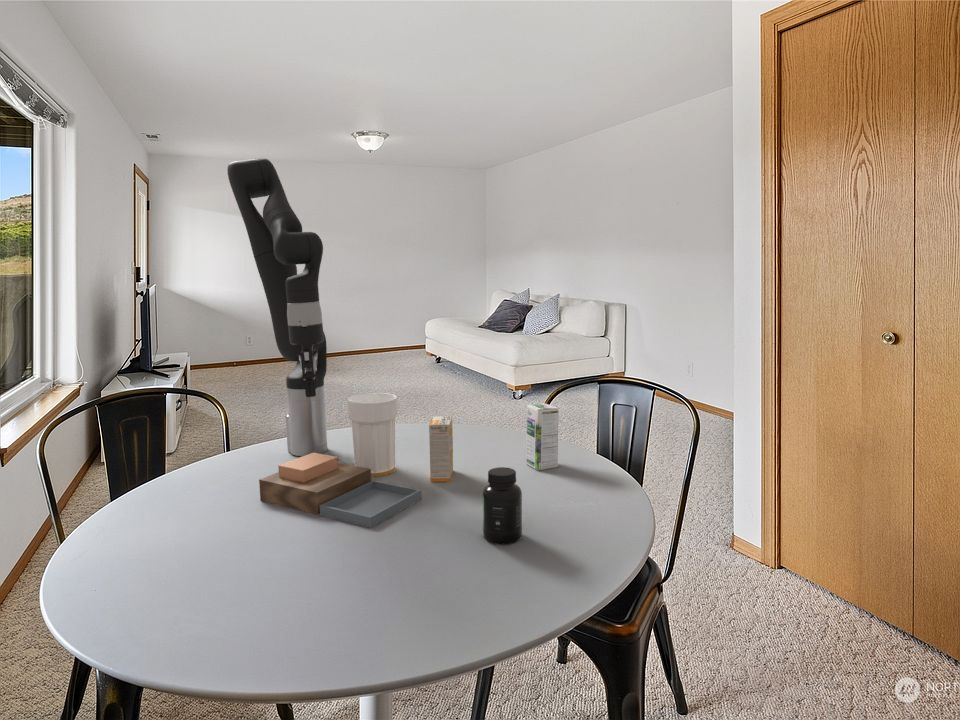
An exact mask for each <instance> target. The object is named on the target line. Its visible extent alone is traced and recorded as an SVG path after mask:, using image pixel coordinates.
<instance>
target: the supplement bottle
mask: <svg viewBox="0 0 960 720" xmlns="http://www.w3.org/2000/svg"><path fill="white" fill-rule="evenodd" d="M487 483H488V484H487V485H486V486H484V488H483V490H482V531H483V533H482V535H483V538H484V540H486V541H487V542H488V543H491V544H495V545H511V544H514V543H517V542H518V541H520V539H521V538H522V535H523V492H522V489H521V487H520V486H519V485H518V484H516V483H517V472H516V470H515V469H514V468H511V467H502V466H501V467H500V466H499V467H493V468H490V469H489V470H488V473H487Z"/></svg>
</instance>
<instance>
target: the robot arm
mask: <svg viewBox="0 0 960 720" xmlns="http://www.w3.org/2000/svg"><path fill="white" fill-rule="evenodd" d="M226 171H227V177H228V181H229V184H230V188H231V191H232V193H233V197H234V199H235V202H236V204H237V207H238V209H239V212H240V215H241V218H242V220H243V223H244V226H245V228H246V233H247V236H248V239H249V243H250V247H251V251H252V255H253V258H254V261H255V266H256V268H257V271H258V272H257V273H259V274H258V275H259V277H260V280H261V285H262V286H263V290H264V295H265V298H266V301H267V304H268V309H269V314H270V317H271V322H272V323H271V324H272V329H273V334H274V338H275V343H276V346H277V349H278V351H279V354H280V355H281V356H282V357H283V359H285V360H287V361H288V362H292V363H293V362H296V363H295V366H294V368H293V370H292V371H291V372H289V373H288V375H287V376H286V378H285V383H286V384H285V385H286V395H287V397H286V399H287V415H286V416H285V429H286V445H287V452H288V453H290V454H291V455H293V456H297V457H302V456H305V455H308V454H311V453H318V454H324V453H325V452H327V451H328V433H327V417H326V416H327V415H326V395H325V377H326V375H327V367H328V366H327V365H328V364H327V362H328V361H327V357H328V356H327V355H328V354H327V353H328V352H327V340H326V339H327V338H326V335H325V331H324V325H323V314H322V308H321V303H320V293H319V278H320V277H319V276H320V268H321V265H322V259H323V255H324V253H323V252H324V244H323V242H322V238H321V237H320V236H319V234H318V233H316V232H313V231H303V226H302V222H301V221H300V219H299V218H298V216H297V214H296V213H295V211H294V209H293V208H292V206H291V205H290V203H289V201H288V197H287V195H286V192H285V189H284V187H283V185H282V182H281V179H280V177H279V175H278V172H277V169H276V167H275V166H274V164H273V163H272V162H271V161H270V159H268V158H262V157H261V158H251V159H244V160H241V159H240V160H236V161H231V162H229V163H228V166H227V170H226ZM263 197H264V198H265V197H267V199H266V200H265V203H264V205H263V208H262V214H261V213H260V212H259V211H258V209H257V208H256V206H255V204H254V202H253V200H252V199H259V198H263ZM297 265H304V269H303V270H302V271H301V273H298V267H297Z"/></svg>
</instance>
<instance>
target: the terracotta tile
mask: <svg viewBox="0 0 960 720" xmlns="http://www.w3.org/2000/svg"><path fill="white" fill-rule="evenodd" d="M338 463H339V461H338V456H334V455H329V454H324V453H321V454H318V453H311V454H308V455H305V456H299V457H297V458H295V459H291V460H290V461H287V462H286V461H285V462H284V463H281V464H279V465H277V466H278V469H277V470H278V472H279V477H281V478H286V479H290V480H295V481H299V482H306V481H308V480H311V479H313V478H316V477H318V476H320V475H323V474H325V473H328V472H330V471H333V470H335V469H337V468H338Z"/></svg>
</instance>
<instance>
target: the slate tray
mask: <svg viewBox="0 0 960 720" xmlns="http://www.w3.org/2000/svg"><path fill="white" fill-rule="evenodd" d="M421 500H422V490H421V489H419V488H413V487H407V486H403V485H397V484H393V483H388V482H385V481H384V482H382V481H378V480H373V479H372V480H371V481H370V482H368V483H366V484H364V485H362V486H360V487H358V488H356V489H354V490H351V491H349V492H347V493H345V494H343V495H341V496H339V497H337V498H334V499H332V500H330V501H328V502H326V503H324V504H322V505H320V514H319V515H320V517H321V516H322V517H326V518H330V519H334V520H337V521H341V522H345V523H350V524H354V525H358V526H362V527H366V528H370V529H371V528H374V527H376V526H377V525H379V524H381V523H382V522H384V521H386V520H388V519H389V518H391V517H393V516H394V515H396V514H398V513H400V512H401V511H403V510H405V509H407V508H409V507H411V506H413V504H416V503H417V502H419V501H421Z"/></svg>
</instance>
